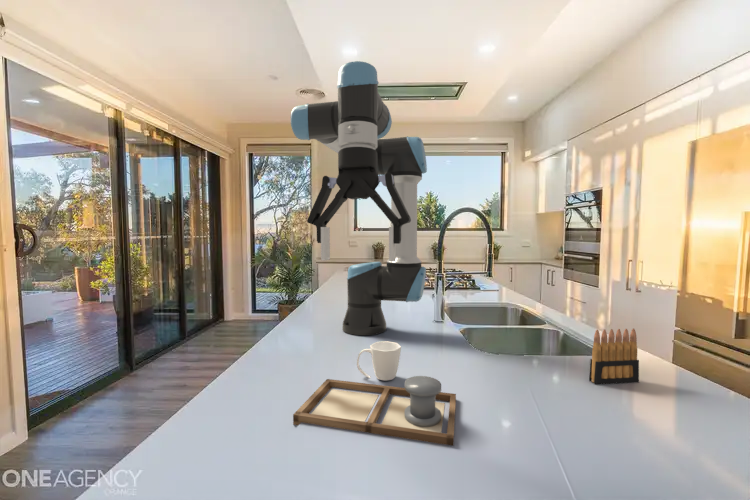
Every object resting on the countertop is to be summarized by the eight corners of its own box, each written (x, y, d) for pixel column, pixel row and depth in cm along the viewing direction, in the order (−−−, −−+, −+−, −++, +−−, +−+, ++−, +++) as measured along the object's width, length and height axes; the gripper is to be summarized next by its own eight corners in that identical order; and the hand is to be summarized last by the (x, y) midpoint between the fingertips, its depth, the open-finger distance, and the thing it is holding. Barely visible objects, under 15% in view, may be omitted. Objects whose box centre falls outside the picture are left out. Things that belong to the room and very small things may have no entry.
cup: (400, 389, 72) (400, 351, 72) (354, 386, 74) (354, 349, 73) (401, 375, 79) (402, 341, 79) (359, 373, 81) (359, 339, 80)
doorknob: (407, 405, 64) (407, 374, 64) (442, 410, 62) (442, 378, 62) (401, 424, 58) (401, 389, 57) (439, 429, 56) (440, 393, 56)
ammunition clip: (594, 384, 74) (596, 330, 74) (588, 381, 76) (590, 328, 76) (639, 382, 76) (641, 329, 75) (632, 379, 78) (633, 327, 77)
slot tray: (327, 387, 73) (327, 378, 73) (455, 402, 66) (455, 393, 66) (293, 424, 59) (293, 414, 59) (453, 449, 52) (453, 438, 52)
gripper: (289, 149, 65) (290, 260, 65) (420, 140, 58) (419, 263, 59) (307, 158, 72) (307, 258, 73) (425, 150, 65) (424, 260, 66)
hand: (358, 260), depth 66 cm, fingers open, 13 cm apart
